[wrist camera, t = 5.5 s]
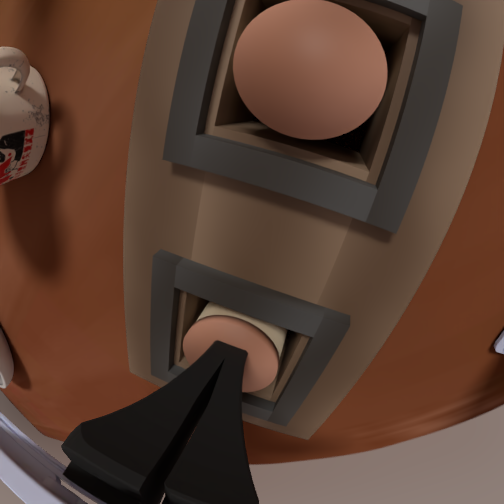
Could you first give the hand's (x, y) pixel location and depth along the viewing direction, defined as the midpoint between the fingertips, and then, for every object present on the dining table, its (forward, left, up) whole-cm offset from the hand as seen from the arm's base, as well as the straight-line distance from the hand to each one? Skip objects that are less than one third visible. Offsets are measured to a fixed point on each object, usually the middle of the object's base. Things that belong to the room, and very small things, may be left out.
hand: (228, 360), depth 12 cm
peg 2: (0, -11, -5) cm, 12 cm away
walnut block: (0, -6, -5) cm, 8 cm away
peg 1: (0, 0, -5) cm, 5 cm away
